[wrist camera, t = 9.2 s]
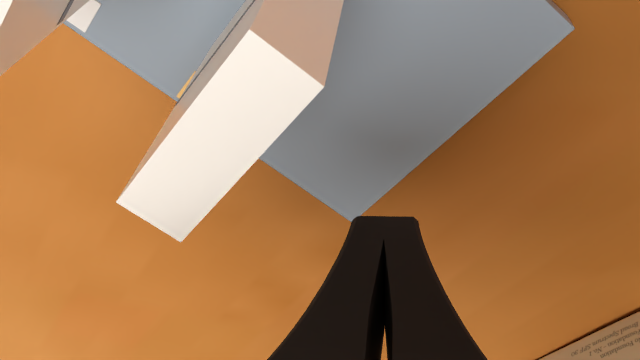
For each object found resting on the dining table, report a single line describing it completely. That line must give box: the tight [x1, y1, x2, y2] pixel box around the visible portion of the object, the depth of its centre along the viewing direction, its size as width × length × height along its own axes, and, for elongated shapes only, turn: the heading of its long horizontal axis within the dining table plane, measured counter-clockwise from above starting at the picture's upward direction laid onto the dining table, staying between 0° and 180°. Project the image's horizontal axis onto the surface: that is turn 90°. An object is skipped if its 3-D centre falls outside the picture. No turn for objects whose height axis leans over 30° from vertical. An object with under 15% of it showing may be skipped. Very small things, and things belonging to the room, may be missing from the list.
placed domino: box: [116, 0, 344, 242], centre depth 15 cm, size 2×5×8 cm, turn 141°
